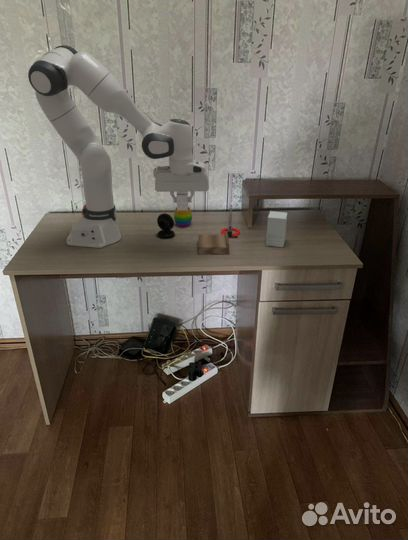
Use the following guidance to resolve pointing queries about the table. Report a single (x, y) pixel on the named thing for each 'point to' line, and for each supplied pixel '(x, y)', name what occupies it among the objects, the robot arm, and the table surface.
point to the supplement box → (276, 229)
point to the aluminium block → (182, 200)
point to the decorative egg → (183, 217)
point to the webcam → (165, 226)
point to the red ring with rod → (230, 227)
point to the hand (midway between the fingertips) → (182, 202)
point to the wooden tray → (214, 244)
